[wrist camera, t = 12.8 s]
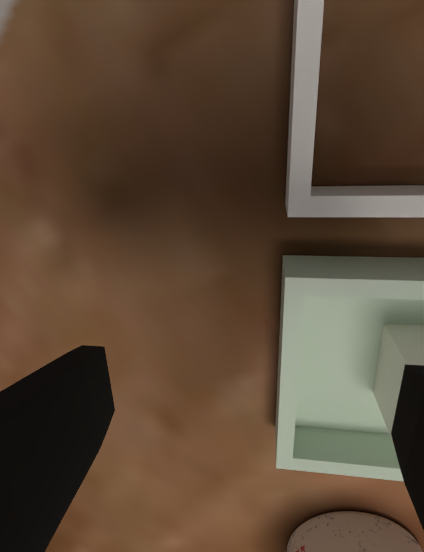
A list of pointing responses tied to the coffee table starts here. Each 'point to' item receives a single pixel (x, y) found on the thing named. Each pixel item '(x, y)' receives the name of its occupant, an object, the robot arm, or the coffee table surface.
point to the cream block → (396, 365)
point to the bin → (302, 132)
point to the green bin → (339, 360)
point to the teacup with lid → (351, 534)
